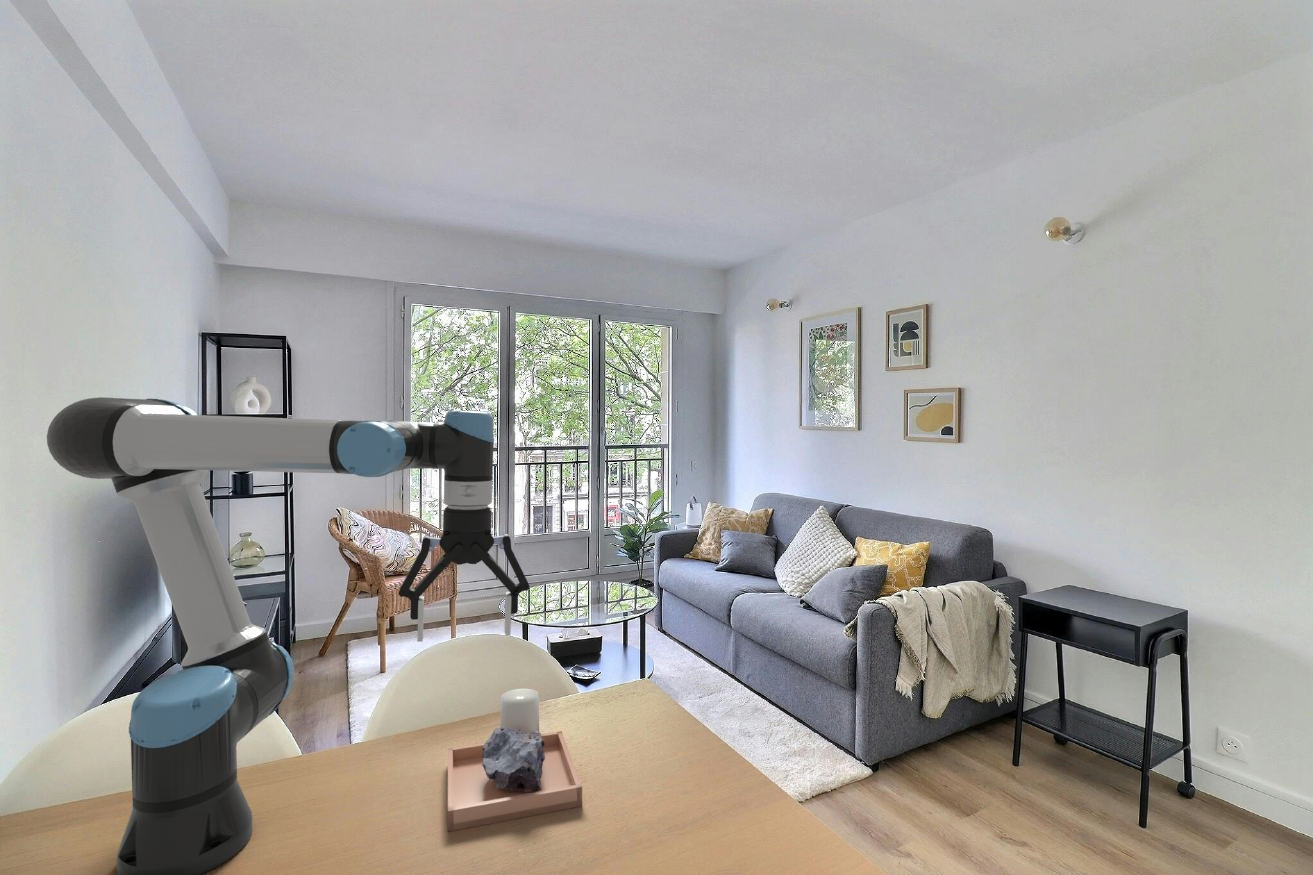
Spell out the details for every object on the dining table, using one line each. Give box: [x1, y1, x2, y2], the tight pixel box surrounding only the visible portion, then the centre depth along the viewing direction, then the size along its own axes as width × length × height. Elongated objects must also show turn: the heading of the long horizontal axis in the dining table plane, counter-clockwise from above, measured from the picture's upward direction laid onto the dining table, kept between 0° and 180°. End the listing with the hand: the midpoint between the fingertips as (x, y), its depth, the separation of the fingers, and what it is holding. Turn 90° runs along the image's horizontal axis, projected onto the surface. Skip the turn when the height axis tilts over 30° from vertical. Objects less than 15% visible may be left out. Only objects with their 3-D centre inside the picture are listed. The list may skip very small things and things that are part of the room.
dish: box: [447, 730, 583, 832], centre depth 104 cm, size 20×19×3 cm
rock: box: [482, 727, 545, 793], centre depth 104 cm, size 14×10×10 cm
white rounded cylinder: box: [499, 688, 540, 732], centre depth 119 cm, size 7×7×8 cm
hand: (464, 636), depth 105 cm, fingers open, 13 cm apart
